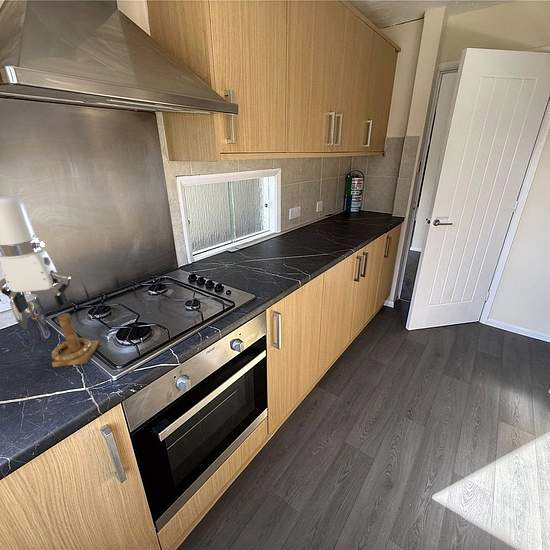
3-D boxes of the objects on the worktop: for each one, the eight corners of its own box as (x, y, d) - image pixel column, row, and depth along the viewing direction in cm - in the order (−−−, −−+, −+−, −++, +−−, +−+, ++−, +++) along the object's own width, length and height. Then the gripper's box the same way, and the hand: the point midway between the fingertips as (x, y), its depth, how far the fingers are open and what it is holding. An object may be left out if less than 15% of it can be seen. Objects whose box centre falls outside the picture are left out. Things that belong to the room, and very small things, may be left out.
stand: (52, 367, 81) (35, 326, 76) (68, 347, 90) (54, 309, 84) (87, 363, 83) (73, 322, 77) (99, 343, 91) (87, 305, 85)
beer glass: (53, 331, 98) (37, 291, 92) (55, 341, 93) (38, 299, 87) (26, 339, 94) (8, 298, 88) (27, 350, 89) (8, 307, 83)
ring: (45, 364, 80) (43, 359, 80) (62, 343, 89) (61, 338, 88) (83, 359, 82) (81, 355, 81) (96, 339, 90) (95, 335, 90)
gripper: (65, 241, 77) (84, 298, 84) (-9, 245, 74) (17, 304, 81) (50, 250, 70) (72, 312, 77) (-32, 255, 68) (-2, 319, 74)
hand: (43, 308), depth 79 cm, fingers open, 9 cm apart
